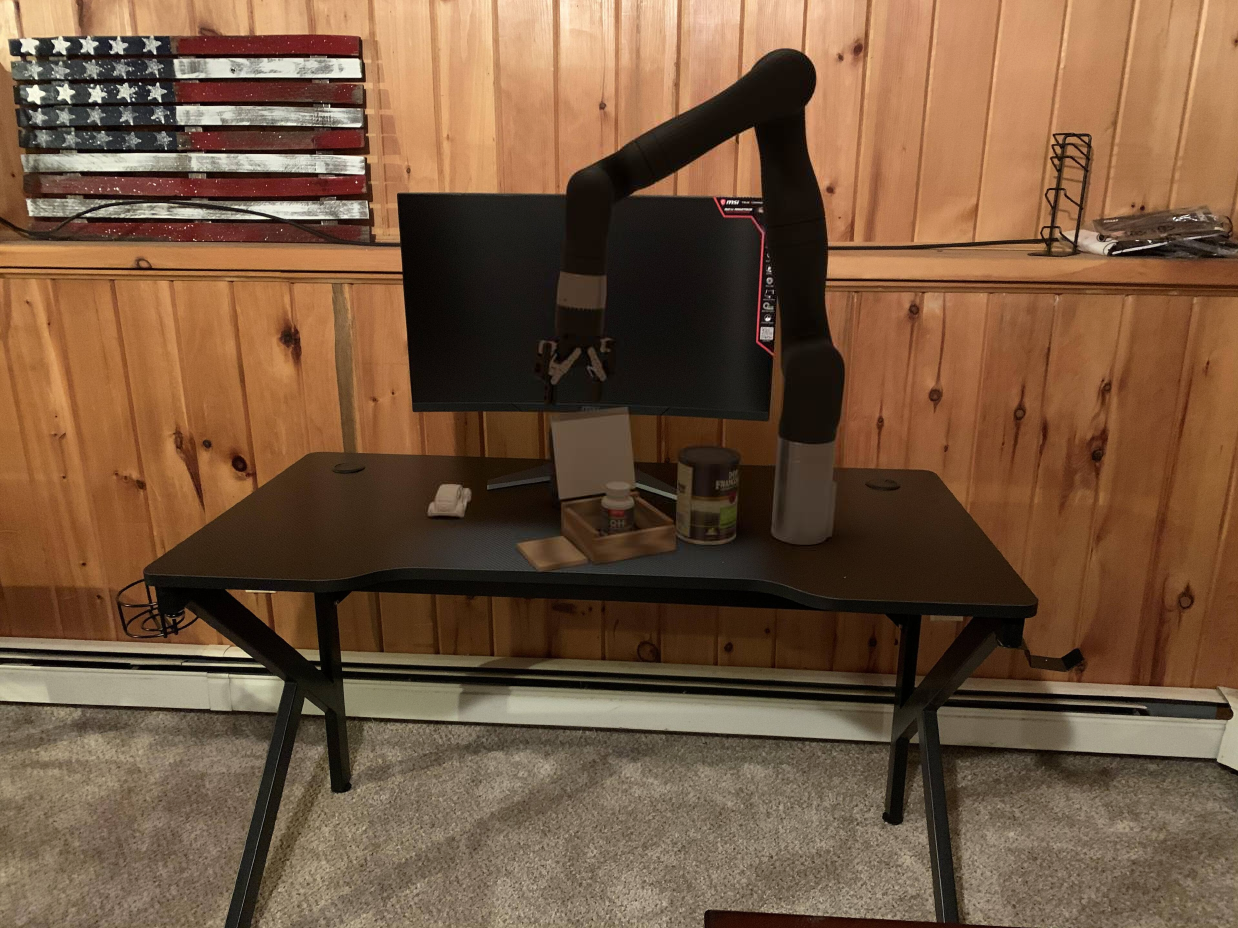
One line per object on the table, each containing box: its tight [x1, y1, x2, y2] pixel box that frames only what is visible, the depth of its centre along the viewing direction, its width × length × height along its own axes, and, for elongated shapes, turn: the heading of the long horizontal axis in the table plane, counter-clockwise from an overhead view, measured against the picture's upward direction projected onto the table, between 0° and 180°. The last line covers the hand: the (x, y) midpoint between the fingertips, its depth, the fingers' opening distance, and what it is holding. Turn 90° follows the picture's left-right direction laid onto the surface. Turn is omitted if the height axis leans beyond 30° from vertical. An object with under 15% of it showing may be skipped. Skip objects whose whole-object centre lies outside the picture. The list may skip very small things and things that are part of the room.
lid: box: [549, 406, 637, 499], centre depth 155 cm, size 14×14×1 cm
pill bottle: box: [600, 482, 635, 537], centre depth 149 cm, size 5×5×10 cm
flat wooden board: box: [515, 535, 589, 573], centre depth 145 cm, size 8×10×1 cm
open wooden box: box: [560, 490, 677, 565], centre depth 150 cm, size 14×14×5 cm
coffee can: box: [675, 444, 742, 546], centre depth 152 cm, size 10×10×14 cm
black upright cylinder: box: [548, 424, 594, 509], centre depth 165 cm, size 8×8×15 cm
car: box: [427, 483, 472, 518], centre depth 164 cm, size 12×6×5 cm, turn 178°
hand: (572, 404), depth 147 cm, fingers open, 8 cm apart
